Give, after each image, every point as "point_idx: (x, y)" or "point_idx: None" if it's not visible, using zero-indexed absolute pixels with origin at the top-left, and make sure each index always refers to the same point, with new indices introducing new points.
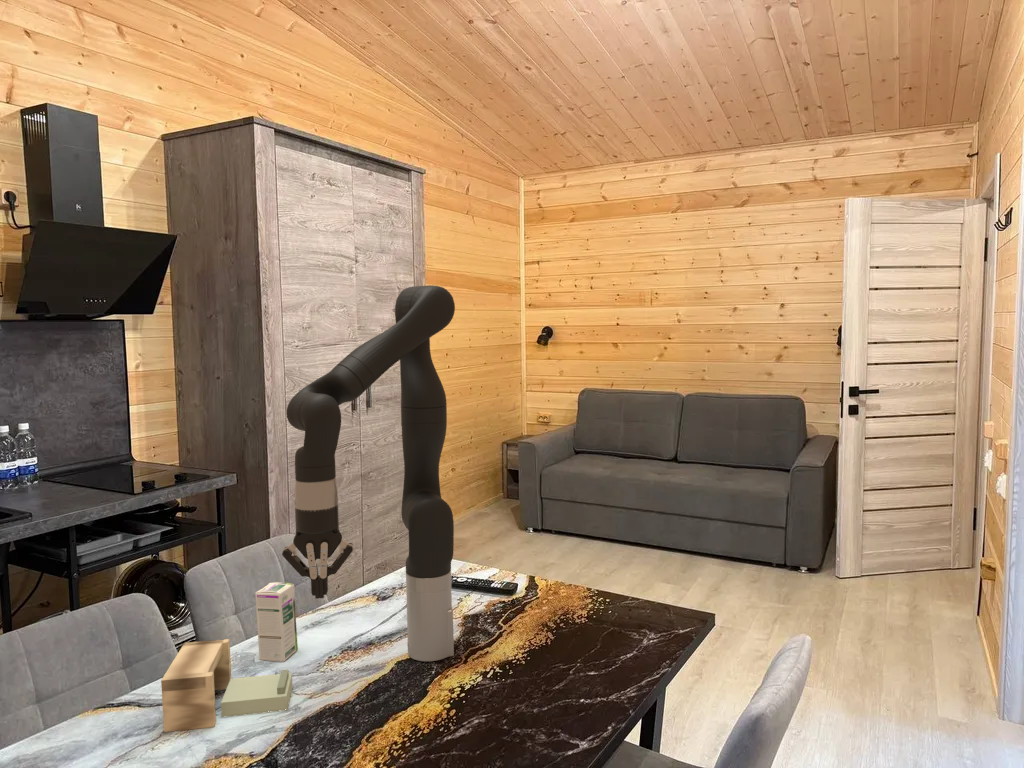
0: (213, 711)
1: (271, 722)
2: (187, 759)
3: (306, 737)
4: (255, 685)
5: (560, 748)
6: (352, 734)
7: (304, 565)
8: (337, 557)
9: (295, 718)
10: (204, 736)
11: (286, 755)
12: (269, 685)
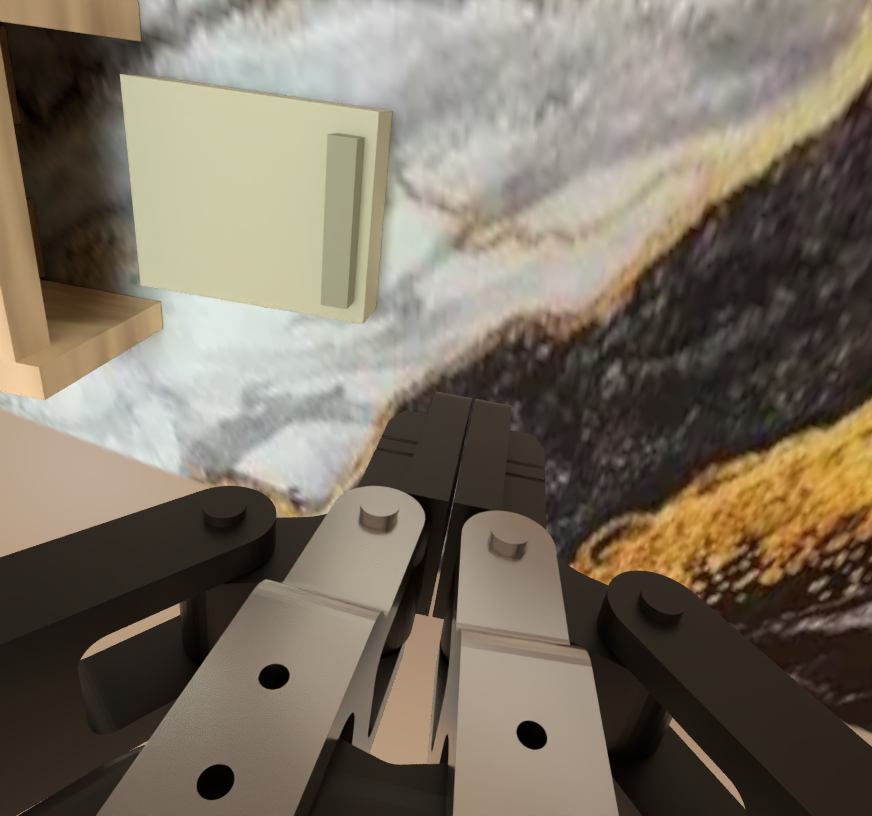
0: (133, 344)
1: (331, 365)
2: (141, 461)
3: None
4: (236, 187)
5: None
6: (561, 515)
7: (197, 585)
8: (756, 794)
9: (403, 370)
10: (150, 369)
11: None
12: (292, 206)
